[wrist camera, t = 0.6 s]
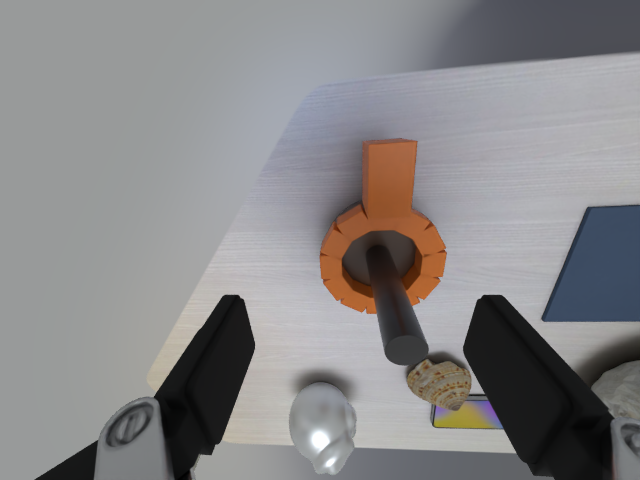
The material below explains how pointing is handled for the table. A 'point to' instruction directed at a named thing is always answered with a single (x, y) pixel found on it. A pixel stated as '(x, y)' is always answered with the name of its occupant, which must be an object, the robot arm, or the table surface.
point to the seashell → (440, 384)
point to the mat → (600, 270)
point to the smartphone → (467, 415)
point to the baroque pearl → (323, 426)
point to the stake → (388, 289)
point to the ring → (384, 226)
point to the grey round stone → (620, 390)
